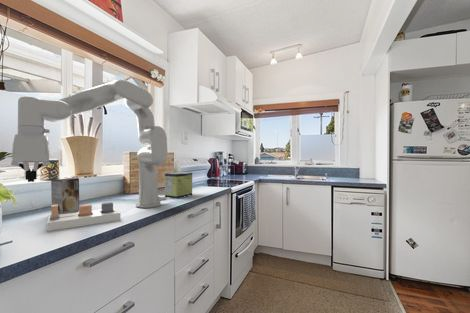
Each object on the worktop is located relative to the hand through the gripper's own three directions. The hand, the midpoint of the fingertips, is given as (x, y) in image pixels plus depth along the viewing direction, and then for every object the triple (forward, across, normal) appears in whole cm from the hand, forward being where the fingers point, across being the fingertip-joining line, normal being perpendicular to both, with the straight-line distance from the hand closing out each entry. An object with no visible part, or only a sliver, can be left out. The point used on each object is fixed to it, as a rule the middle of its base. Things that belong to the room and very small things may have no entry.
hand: (31, 181), depth 85 cm
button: (+15, -25, 0) cm, 29 cm away
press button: (+15, -17, 0) cm, 23 cm away
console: (+18, -17, 0) cm, 24 cm away
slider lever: (+14, -7, 0) cm, 16 cm away
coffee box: (+18, -11, -23) cm, 31 cm away
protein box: (+17, -72, -32) cm, 81 cm away
